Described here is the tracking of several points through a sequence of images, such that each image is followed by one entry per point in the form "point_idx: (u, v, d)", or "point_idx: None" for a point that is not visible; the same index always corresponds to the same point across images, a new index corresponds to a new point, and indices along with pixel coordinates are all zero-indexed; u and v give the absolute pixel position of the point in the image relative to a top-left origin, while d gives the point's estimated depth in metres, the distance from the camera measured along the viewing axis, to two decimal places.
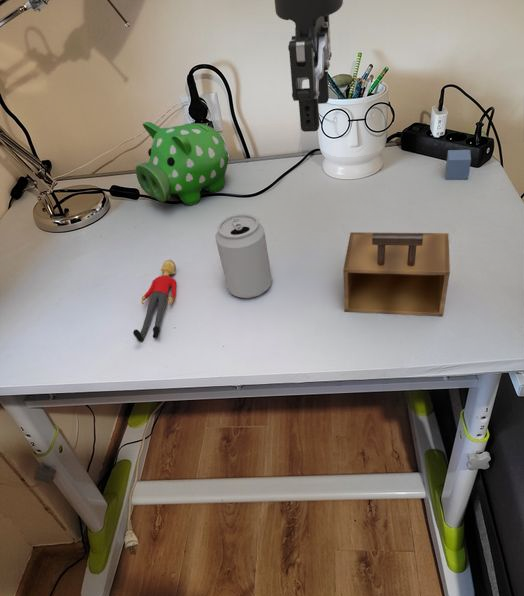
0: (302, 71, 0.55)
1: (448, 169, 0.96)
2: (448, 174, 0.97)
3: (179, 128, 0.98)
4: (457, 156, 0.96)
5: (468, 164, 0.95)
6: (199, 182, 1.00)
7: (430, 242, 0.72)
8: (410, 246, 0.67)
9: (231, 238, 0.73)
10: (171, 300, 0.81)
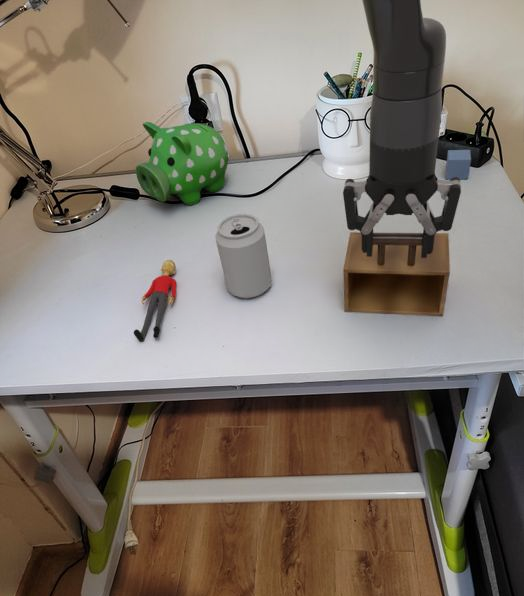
0: None
1: (448, 169, 0.96)
2: (448, 174, 0.97)
3: (179, 128, 0.98)
4: (457, 156, 0.96)
5: (468, 164, 0.95)
6: (199, 182, 1.00)
7: None
8: (410, 246, 0.67)
9: (231, 238, 0.73)
10: (171, 300, 0.81)
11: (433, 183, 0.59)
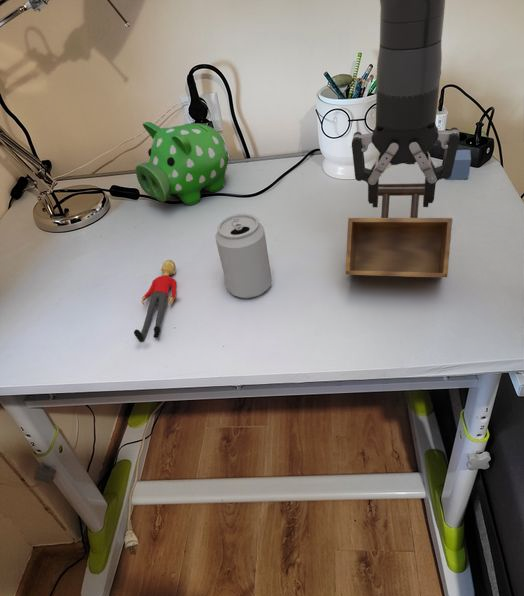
0: None
1: None
2: None
3: (179, 128, 0.98)
4: (457, 156, 0.96)
5: (468, 164, 0.95)
6: (199, 182, 1.00)
7: None
8: (413, 195, 0.70)
9: (231, 238, 0.73)
10: (171, 300, 0.81)
11: (434, 132, 0.65)
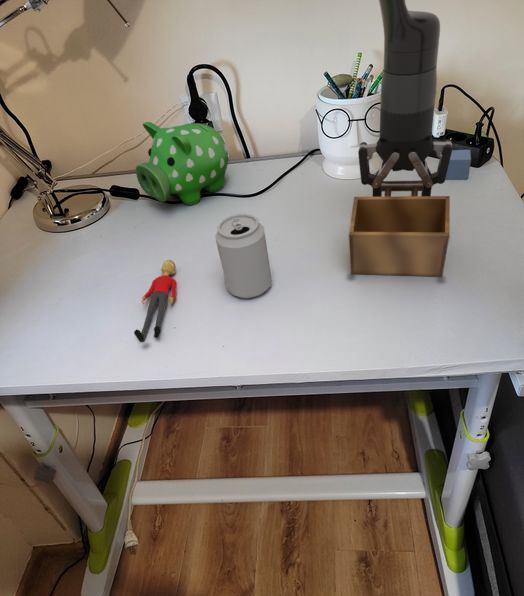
0: None
1: (448, 169, 0.96)
2: (448, 174, 0.97)
3: (179, 128, 0.98)
4: (457, 156, 0.96)
5: (468, 164, 0.95)
6: (199, 182, 1.00)
7: None
8: (413, 187, 0.79)
9: (231, 238, 0.73)
10: (171, 300, 0.81)
11: (430, 143, 0.75)
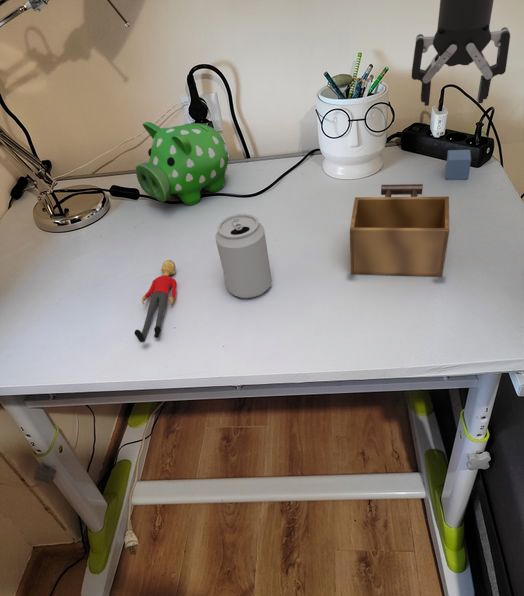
0: None
1: (448, 169, 0.96)
2: (448, 174, 0.97)
3: (179, 128, 0.98)
4: (457, 156, 0.96)
5: (468, 164, 0.95)
6: (199, 182, 1.00)
7: None
8: (412, 190, 0.80)
9: (231, 238, 0.73)
10: (172, 300, 0.81)
11: (487, 33, 0.77)
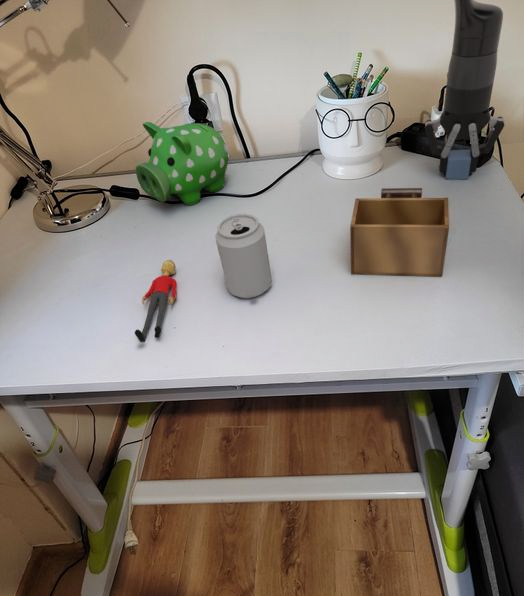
0: None
1: (448, 169, 0.96)
2: (448, 174, 0.97)
3: (179, 128, 0.98)
4: (457, 155, 0.96)
5: (468, 164, 0.95)
6: (199, 182, 1.00)
7: None
8: (412, 193, 0.81)
9: (231, 238, 0.73)
10: (172, 300, 0.81)
11: (488, 116, 0.89)
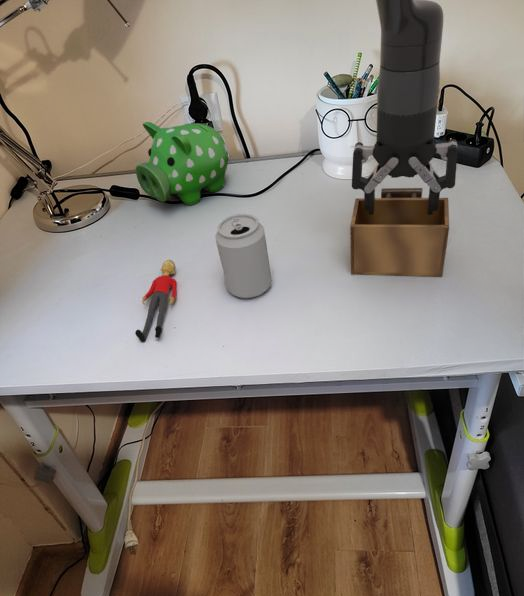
0: None
1: None
2: None
3: (179, 128, 0.98)
4: None
5: None
6: (199, 182, 1.00)
7: None
8: (412, 193, 0.81)
9: (231, 238, 0.73)
10: (172, 300, 0.81)
11: (432, 147, 0.68)
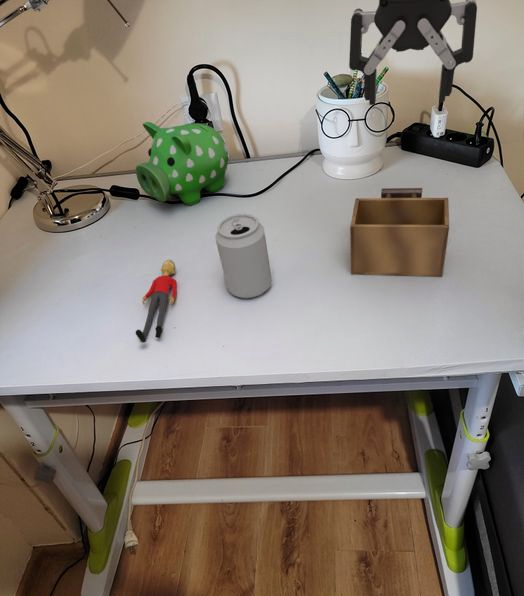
0: None
1: None
2: None
3: (179, 128, 0.98)
4: None
5: None
6: (199, 182, 1.00)
7: None
8: (412, 193, 0.81)
9: (231, 238, 0.73)
10: (172, 300, 0.81)
11: (446, 5, 0.56)
